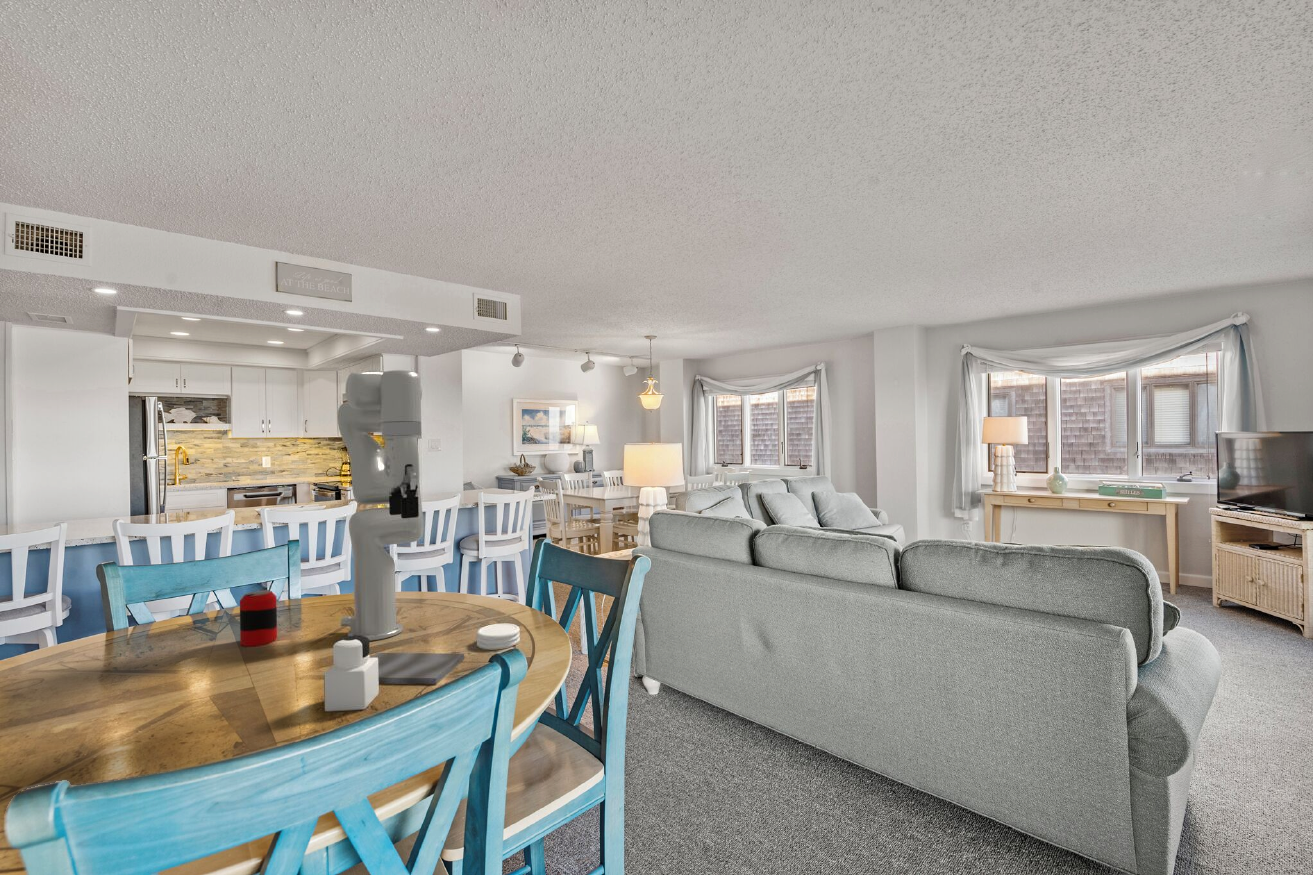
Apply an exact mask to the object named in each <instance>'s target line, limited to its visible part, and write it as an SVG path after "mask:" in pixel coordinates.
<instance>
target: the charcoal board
mask: <svg viewBox="0 0 1313 875" xmlns="http://www.w3.org/2000/svg"><path fill="white" fill-rule="evenodd" d="M370 658H378V679H379V684H383V685H384V684H388V685H389V684H391V685H392V684H394V685H395V684H396V685H437V684H438V683H440V682H441V680H442V679H444V678H445V677H446V676H448V674H449V673H451V672H452V671H453V670H454V669H455V668H456V667H457V666H458V665H459V664H460V663H462V662H463V661H464V659H465V653H448V652H446V653H444V652H442V653H441V652H440V653H438V652H437V653H435V652H433V653H430V652H425V653H424V652H376V653H375V654H373V655H372V656H370Z"/></svg>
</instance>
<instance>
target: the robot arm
mask: <svg viewBox="0 0 1313 875" xmlns="http://www.w3.org/2000/svg"><path fill="white" fill-rule="evenodd" d="M422 396H423V390H422V386H421V377H420V375H419V374H418V373H417V372H415V371H411V370H404V369H403V370H402V369H399V370H398V369H395V370H387V371H386V370H385V371H384V370H368V371H365V372H351V373H350V374H349V375H348V377H347V379H346V382H345V397H346V398H345V399H346V401H345V402H344V403H342V404H340V405H339V407H338V410H337V424H338V425H337V426H338V430H339V432H340V437H341V439H342V441H343V443H344V445H345V447H346V449H347V452H348V456H349V461H350V473H351V474H350V475H351V477H350V478H351V486H352V487H351V488H352V494H353V499H354V500H355V502H356V503H358V504H360V505H363V506H364V505H365V506H369V505H370V506H372V505H374V506H375V505H377V506H378V505H388V507H373V508H366V509H362V510H359V511H355V513H353V514H352V515H351V516H350V518H349V521H348V531H349V537H350V542H351V543H350V544H351V548H352V561H353V589H354V590H353V593H354V594H353V595H354V596H353V597H354V599H353V600H354V602H353V604H354V616H342V619H341V621H340V626H341V627H349V628H350V630H348V632H347V637H348V636H354V635H361V636H365V637H367V638H368V639H369V642H372V641H378V640H382V639H387V638H390V637H394V636H397V635H399V634H400V633H401V632H402V631H403V630H404V629H403V628H404V627H403V624H402V623H401V622H397V615H396V614H397V612H396V611H397V607H396V606H397V604H396V603H397V602H396V599H397V598H396V562H395V560H394V558H393V557H392V555H391V554H390V553H388V552H387V551H386V550H385V548H384V547H386V546H389V545H390V546H391V545H399V544H408V543H414V542H418V541H419V540H421V538H422V537H423V535H424V531H425V530H424V529H425V528H424V527H425V526H424V522H425V521H424V514H423V505H422V504H423V503H422V497H421V496H422V495H421V488H420V458H419V446H418V445H419V444H418V439H422V438H423V437H422V434H423V433H422V406H421V405H422V404H421V403H422ZM368 433H381V440H385V443H384V448H383V446H382V445H381V444H380V443H379V442H378V441H377V440H376V439H375V438H374V437H372V436H371V435H369V434H368Z"/></svg>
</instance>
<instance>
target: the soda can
mask: <svg viewBox="0 0 1313 875" xmlns="http://www.w3.org/2000/svg"><path fill="white" fill-rule="evenodd" d="M277 608H278V607H277V595H276V594H275V593H273V591H272V590H269V589H268V590H267V589H265V590H264V589H263V590H254V591H250V592H249V591H248V592H246V593H245V594H244V595H243V596H242V598H241V599H240V600H239V632H240V634H239V636H240V637H239V640H240V645H243V646H242V647H245V646H246V648H254V647H261V646H264V645H268V644H272V643H273V642H275V641H276V640H277V639H278V619H277V618H278V617H277V616H278V613H277V612H278V611H277V610H278V609H277ZM260 645H261V646H260Z"/></svg>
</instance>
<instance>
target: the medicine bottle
mask: <svg viewBox="0 0 1313 875" xmlns="http://www.w3.org/2000/svg"><path fill="white" fill-rule="evenodd" d="M332 647H333V648H332V649H333V650H332V656H333V665H332V666H330V667H329V668H328V669H327V670H326V671H325V672H324V673H323V685H324V686H323V690H324V691H323V693H324V694H323V697H324V699H323V700H324V711H325V712H341V711H343V712H344V711H362V710H363V711H364V710H365V709H367V707H368V706H369V705H370V704H371V703H372V702H373V700H375V699H376V697H377V696H378V695H379V693H380V689H379V688H380V686H379V684H380V683H379V679H378V658H370V657H371V656H370V641H369V639H368V638H367V637H365V636H361V635H354V636H348V635H347V636H344V637H342V638H339V639H338V640H336V641H335V642H334V643H333V644H332Z"/></svg>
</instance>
